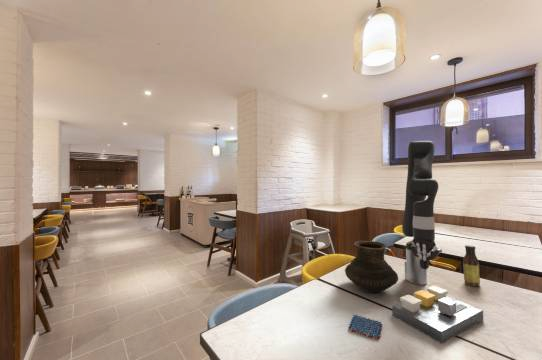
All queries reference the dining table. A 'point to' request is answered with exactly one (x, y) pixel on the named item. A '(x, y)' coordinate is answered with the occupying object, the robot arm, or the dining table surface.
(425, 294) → the button mid
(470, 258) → the sauce bottle
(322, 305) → the dining table surface
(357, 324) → the woven mat
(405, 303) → the button left
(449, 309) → the brushed metal cube
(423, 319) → the panel
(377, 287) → the ceramic pot
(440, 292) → the button right
